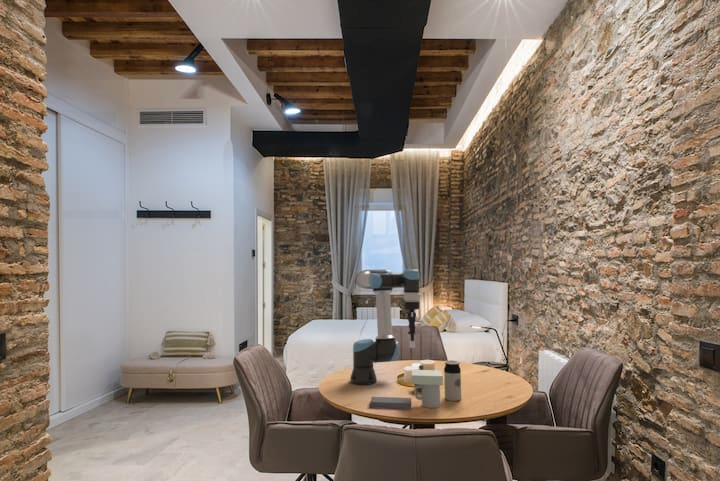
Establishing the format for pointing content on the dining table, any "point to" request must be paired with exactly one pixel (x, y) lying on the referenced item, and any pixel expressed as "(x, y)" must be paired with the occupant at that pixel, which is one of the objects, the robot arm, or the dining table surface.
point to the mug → (429, 395)
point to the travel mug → (452, 380)
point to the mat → (390, 402)
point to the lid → (427, 377)
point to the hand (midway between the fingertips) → (411, 344)
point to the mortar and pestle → (419, 384)
